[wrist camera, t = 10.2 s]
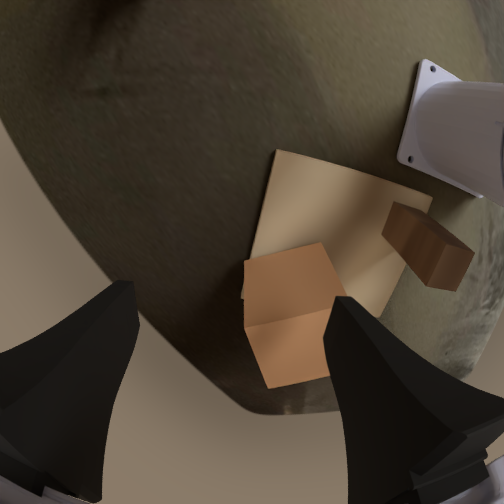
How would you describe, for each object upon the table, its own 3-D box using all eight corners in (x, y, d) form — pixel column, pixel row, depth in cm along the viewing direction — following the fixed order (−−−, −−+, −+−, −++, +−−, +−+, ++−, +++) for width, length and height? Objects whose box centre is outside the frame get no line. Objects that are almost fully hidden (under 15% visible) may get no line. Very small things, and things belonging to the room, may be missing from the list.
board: (428, 195, 19) (433, 197, 19) (377, 313, 24) (379, 317, 23) (276, 148, 18) (277, 150, 17) (240, 293, 23) (240, 298, 22)
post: (420, 210, 19) (474, 252, 13) (408, 241, 20) (455, 291, 14) (393, 201, 19) (446, 243, 13) (381, 234, 20) (426, 286, 14)
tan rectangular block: (320, 241, 19) (350, 302, 13) (330, 302, 22) (354, 368, 16) (244, 260, 20) (244, 328, 14) (262, 318, 22) (268, 388, 16)
